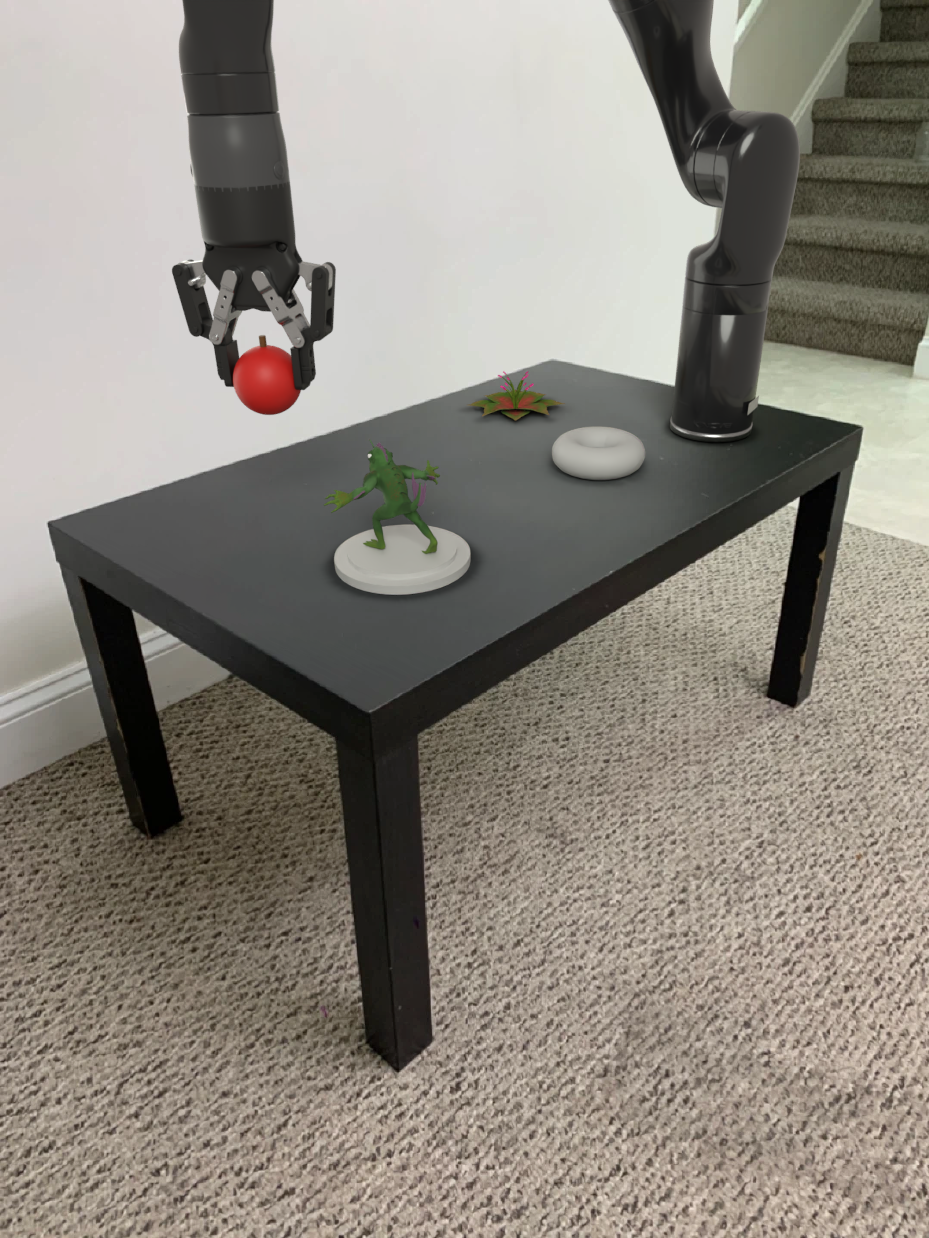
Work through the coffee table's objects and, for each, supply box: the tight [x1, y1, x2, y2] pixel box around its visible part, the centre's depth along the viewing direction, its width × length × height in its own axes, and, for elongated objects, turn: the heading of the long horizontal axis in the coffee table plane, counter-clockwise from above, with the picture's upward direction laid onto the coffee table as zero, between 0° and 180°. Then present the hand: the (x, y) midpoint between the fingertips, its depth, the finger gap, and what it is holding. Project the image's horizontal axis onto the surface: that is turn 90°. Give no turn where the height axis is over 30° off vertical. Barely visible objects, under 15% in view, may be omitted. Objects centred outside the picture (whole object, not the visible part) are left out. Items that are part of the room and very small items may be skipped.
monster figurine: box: [323, 438, 472, 596], centre depth 81 cm, size 12×12×10 cm
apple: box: [233, 334, 302, 416], centre depth 83 cm, size 6×6×7 cm
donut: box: [551, 426, 646, 481], centre depth 101 cm, size 10×4×10 cm
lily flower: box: [467, 370, 566, 421], centre depth 118 cm, size 12×12×5 cm
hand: (267, 385), depth 83 cm, fingers closed on apple, 6 cm apart
